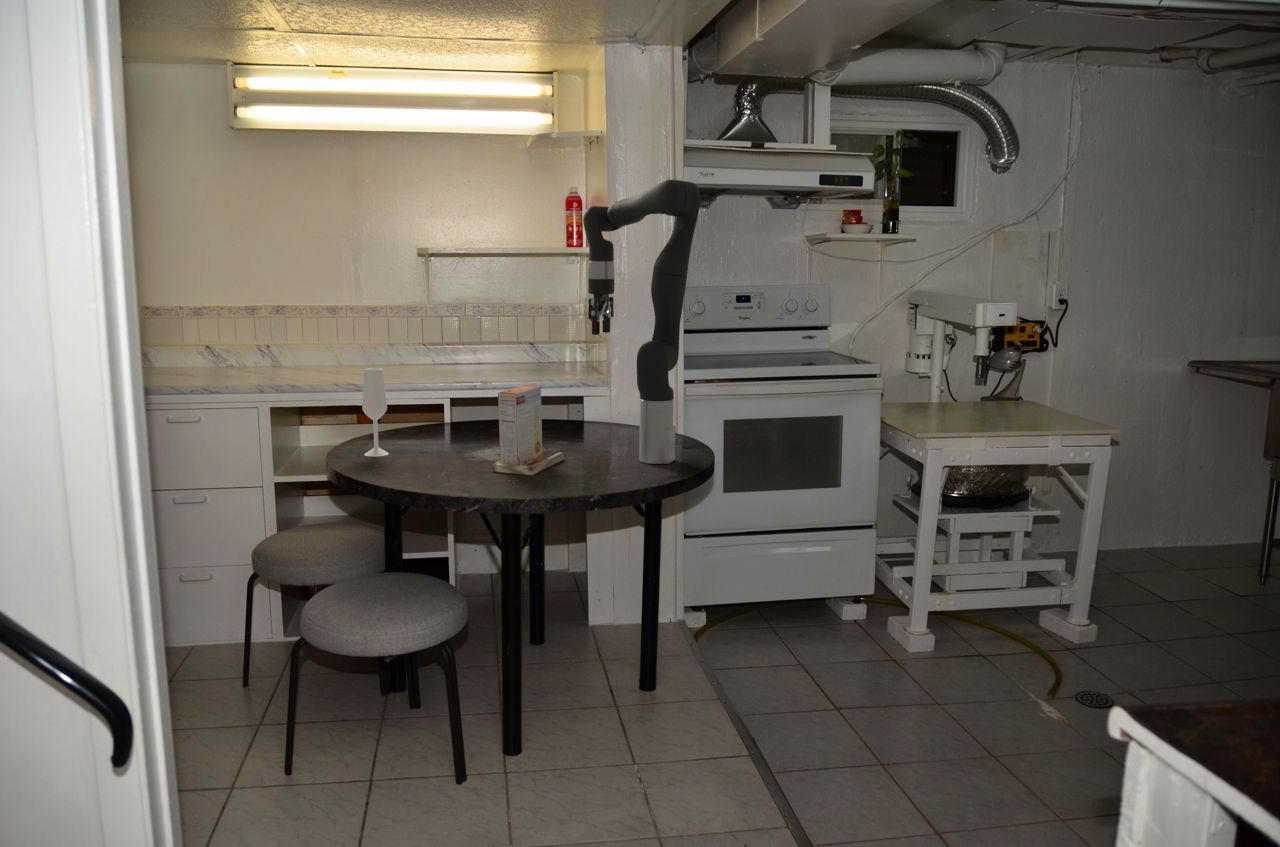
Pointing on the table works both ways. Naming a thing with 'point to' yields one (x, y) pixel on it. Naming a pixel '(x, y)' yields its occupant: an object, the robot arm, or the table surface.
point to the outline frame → (527, 469)
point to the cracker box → (520, 425)
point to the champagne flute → (374, 404)
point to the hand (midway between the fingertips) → (601, 333)
